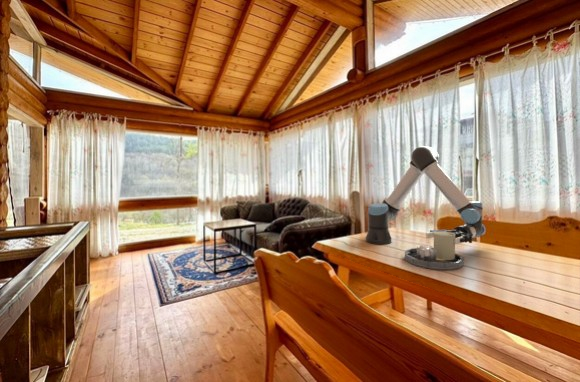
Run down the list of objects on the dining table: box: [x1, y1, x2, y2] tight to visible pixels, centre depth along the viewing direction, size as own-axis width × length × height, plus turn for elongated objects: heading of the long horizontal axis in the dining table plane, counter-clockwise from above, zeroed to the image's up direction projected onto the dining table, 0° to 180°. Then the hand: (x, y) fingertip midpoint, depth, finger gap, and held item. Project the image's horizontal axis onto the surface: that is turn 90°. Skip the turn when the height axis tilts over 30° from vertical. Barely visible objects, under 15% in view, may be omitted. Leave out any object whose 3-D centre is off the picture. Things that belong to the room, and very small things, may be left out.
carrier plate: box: [404, 245, 465, 271], centre depth 123 cm, size 24×24×7 cm
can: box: [433, 231, 456, 260], centre depth 124 cm, size 9×9×12 cm
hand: (440, 238), depth 125 cm, fingers open, 13 cm apart
